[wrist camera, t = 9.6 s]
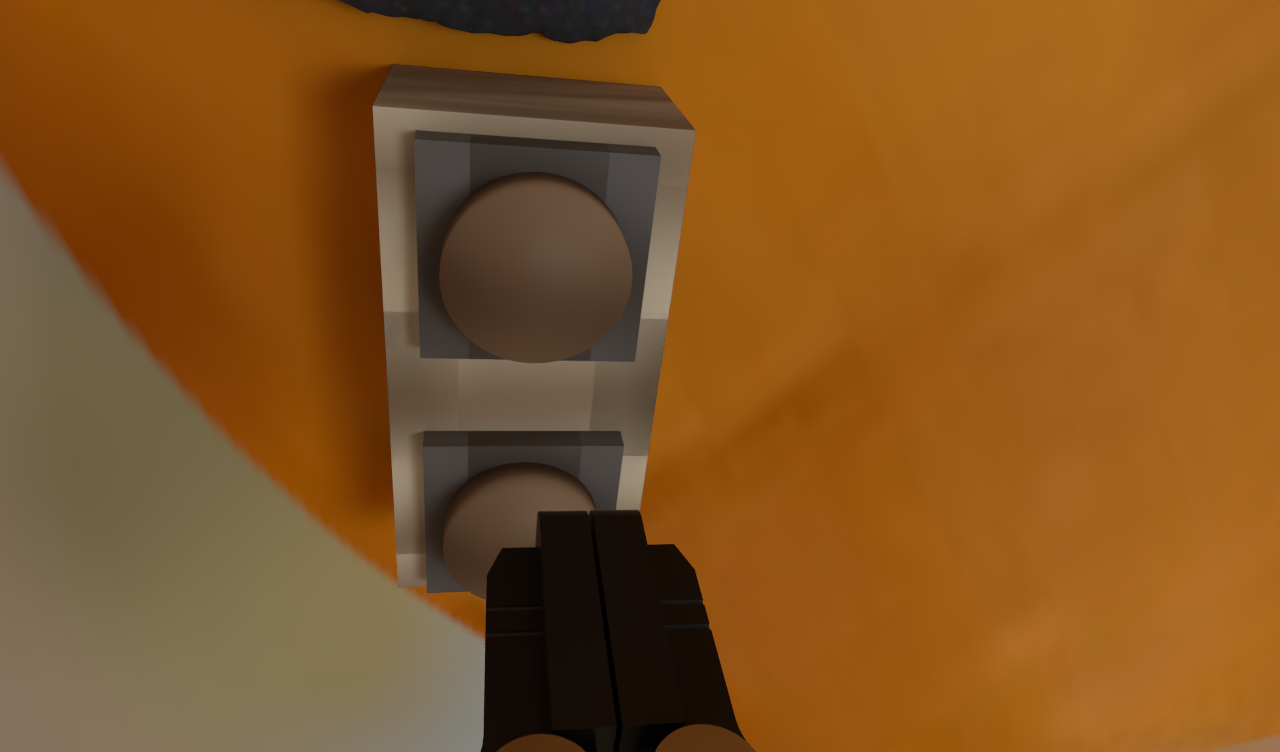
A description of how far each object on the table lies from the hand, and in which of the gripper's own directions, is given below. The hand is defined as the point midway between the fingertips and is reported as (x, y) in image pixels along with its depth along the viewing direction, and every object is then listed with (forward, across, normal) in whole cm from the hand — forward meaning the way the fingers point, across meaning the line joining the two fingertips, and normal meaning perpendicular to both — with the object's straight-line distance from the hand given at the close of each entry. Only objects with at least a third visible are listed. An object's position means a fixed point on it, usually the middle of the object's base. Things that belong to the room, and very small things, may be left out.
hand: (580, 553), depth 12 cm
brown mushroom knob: (+16, 0, +9) cm, 19 cm away
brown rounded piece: (+17, 0, 0) cm, 17 cm away
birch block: (+17, 0, +5) cm, 17 cm away
